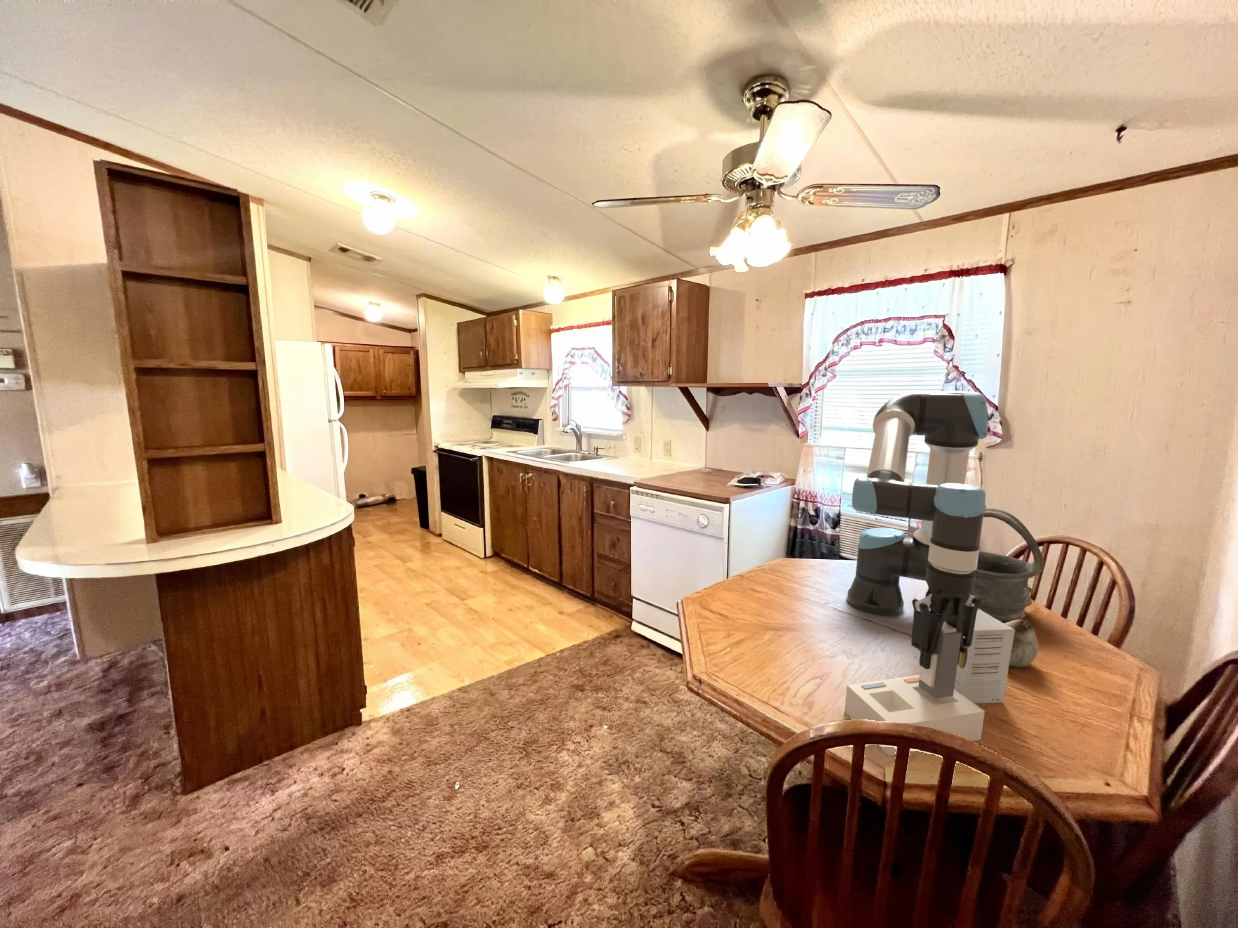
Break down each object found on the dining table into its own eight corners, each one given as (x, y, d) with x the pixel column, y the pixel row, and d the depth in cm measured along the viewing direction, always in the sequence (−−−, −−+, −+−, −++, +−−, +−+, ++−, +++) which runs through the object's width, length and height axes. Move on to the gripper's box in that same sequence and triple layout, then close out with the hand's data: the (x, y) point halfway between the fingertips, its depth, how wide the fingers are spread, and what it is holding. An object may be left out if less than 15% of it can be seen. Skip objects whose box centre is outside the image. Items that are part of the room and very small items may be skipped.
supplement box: (930, 677, 109) (939, 608, 106) (968, 675, 110) (977, 607, 107) (964, 705, 99) (974, 630, 97) (1005, 703, 100) (1016, 628, 97)
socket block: (926, 698, 102) (929, 671, 101) (980, 739, 90) (984, 710, 89) (843, 710, 98) (846, 683, 96) (888, 755, 86) (892, 725, 85)
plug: (935, 683, 96) (943, 620, 93) (953, 695, 92) (961, 630, 89) (918, 685, 95) (926, 621, 93) (935, 698, 91) (944, 632, 89)
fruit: (1021, 677, 109) (1029, 629, 107) (975, 657, 117) (981, 611, 115) (1043, 666, 114) (1050, 619, 112) (997, 646, 122) (1003, 602, 120)
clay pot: (968, 586, 158) (980, 498, 153) (1051, 618, 137) (1068, 517, 132) (920, 596, 151) (931, 504, 146) (1001, 631, 129) (1016, 525, 124)
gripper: (970, 556, 94) (956, 665, 98) (896, 562, 91) (884, 674, 95) (1008, 570, 87) (991, 687, 91) (929, 577, 84) (914, 698, 88)
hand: (936, 680), depth 93 cm, fingers closed on plug, 4 cm apart
